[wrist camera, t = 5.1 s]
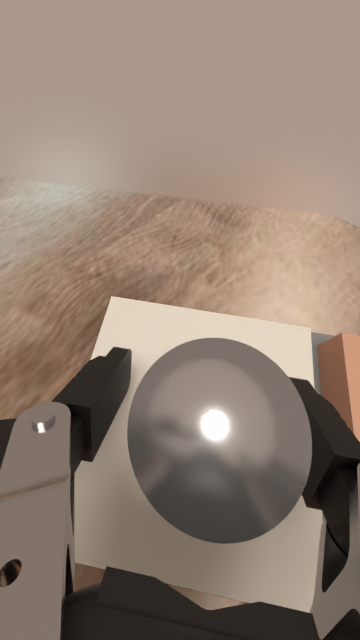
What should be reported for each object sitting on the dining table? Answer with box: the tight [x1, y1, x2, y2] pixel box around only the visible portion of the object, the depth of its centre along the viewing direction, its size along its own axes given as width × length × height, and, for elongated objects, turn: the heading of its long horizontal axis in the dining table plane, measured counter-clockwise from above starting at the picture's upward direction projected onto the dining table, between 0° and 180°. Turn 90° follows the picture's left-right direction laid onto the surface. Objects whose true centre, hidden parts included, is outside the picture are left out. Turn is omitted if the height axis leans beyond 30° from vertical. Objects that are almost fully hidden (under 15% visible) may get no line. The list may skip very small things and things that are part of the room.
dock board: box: [75, 296, 360, 613], centre depth 13 cm, size 28×14×4 cm, turn 80°
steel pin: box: [127, 338, 312, 544], centre depth 9 cm, size 4×4×10 cm
